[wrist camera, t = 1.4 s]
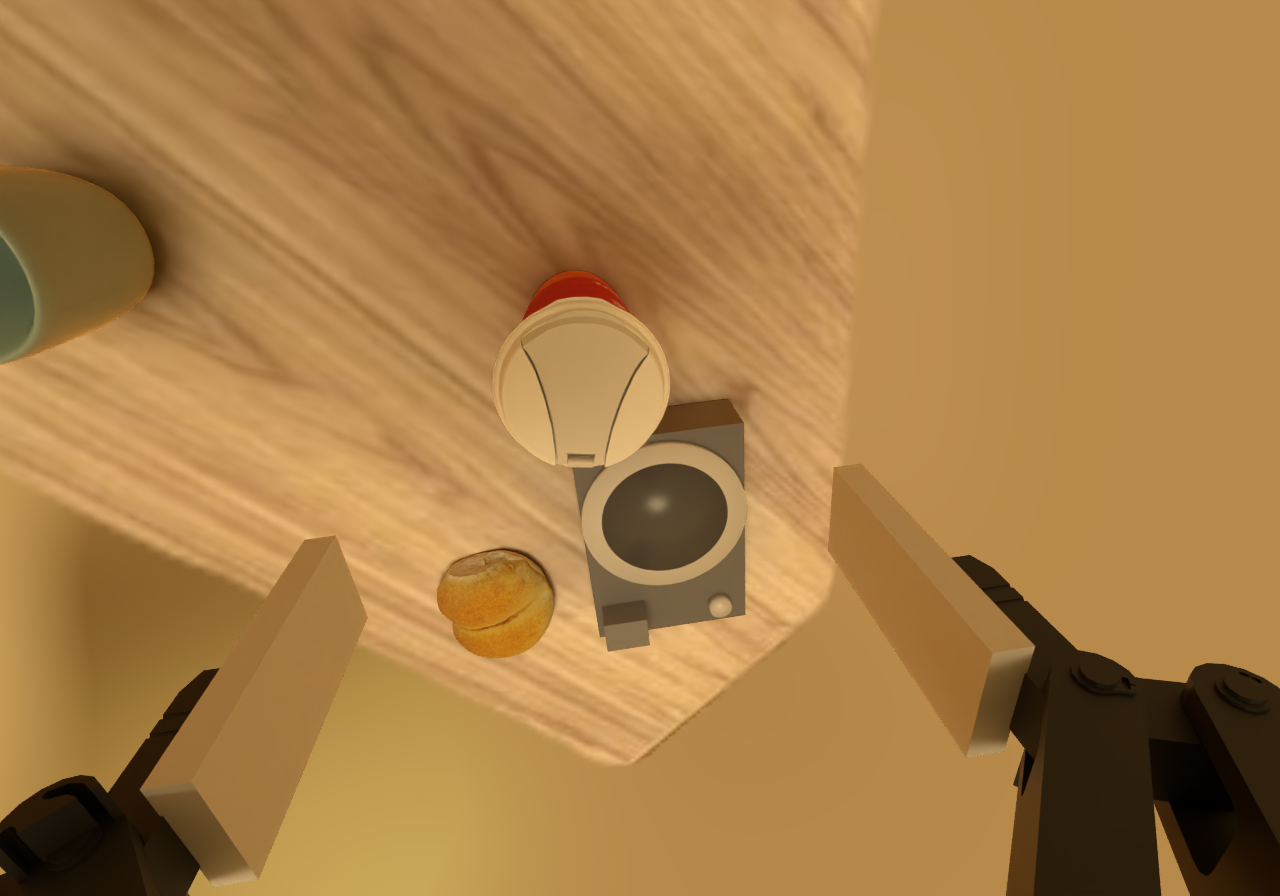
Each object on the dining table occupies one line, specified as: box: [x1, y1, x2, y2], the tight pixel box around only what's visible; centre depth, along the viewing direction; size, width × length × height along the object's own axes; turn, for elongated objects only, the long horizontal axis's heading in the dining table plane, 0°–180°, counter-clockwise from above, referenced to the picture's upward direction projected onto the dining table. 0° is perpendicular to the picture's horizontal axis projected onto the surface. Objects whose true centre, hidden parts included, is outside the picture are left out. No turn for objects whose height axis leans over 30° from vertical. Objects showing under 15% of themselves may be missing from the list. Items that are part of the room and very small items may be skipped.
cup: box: [0, 165, 154, 365], centre depth 28 cm, size 8×8×10 cm
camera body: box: [573, 399, 747, 652], centre depth 41 cm, size 16×11×6 cm
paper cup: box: [492, 271, 670, 468], centre depth 31 cm, size 8×8×14 cm
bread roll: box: [437, 550, 554, 658], centre depth 45 cm, size 8×9×4 cm
